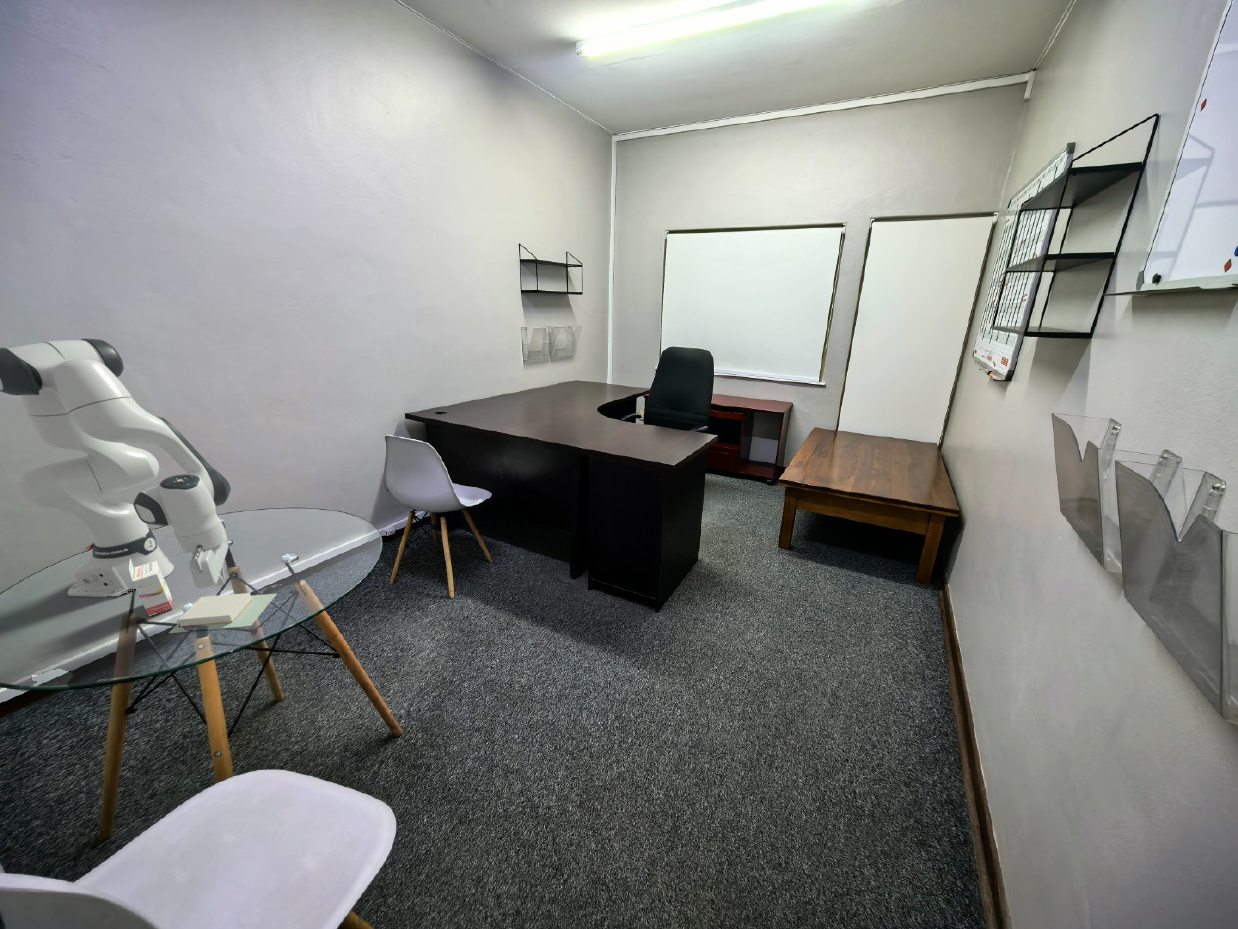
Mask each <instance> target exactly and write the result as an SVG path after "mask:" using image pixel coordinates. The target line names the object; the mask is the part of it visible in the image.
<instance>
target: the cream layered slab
mask: <svg viewBox="0 0 1238 929" xmlns="http://www.w3.org/2000/svg"><path fill="white" fill-rule="evenodd" d="M251 596H252V595H251V592H246V593H233V594H223V595H212V596H211V595H210V596H201V597H200V598H198V600H196V602H194V603H193V605H191V606H190V607H189V608H188V609H187V610H186V611H184V613H183V614H182V615H181V616H180V617H179V618H177V622H178V623H179V624H180V626H181V627H183V626H189V625H209V624H220V623H231V622H233V621H234V620H235V619H236V618H237V617H238V616H239V614H240V613H241V612H242V611H243V610H244V609H245V608H246V607H247V605H248V604H249V603H250V602H251V601H252V598H251Z"/></svg>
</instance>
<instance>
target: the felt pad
mask: <svg viewBox="0 0 1238 929" xmlns="http://www.w3.org/2000/svg"><path fill="white" fill-rule="evenodd" d="M277 594H278V593H266V594H255V595H254V594H253V595H251V598H252V601H251V602H250V603H249V604H248V605H247V607H246V608H245V609H244V610H243V611H242V612H241V613H240V614H239V616H238V617H237V618H236V619H235V620H234V621H233V622H231V623H220V624H209V625H204V626H209V627H208V628H209V629H208V628H207V629H208V630H207V631H210V630H219V629H220V630H221V629H231V628H232V629H233V628H241V627H242V628H243V627H251V626H252V625H253V624H254V623H255V621H257V619H258V618H259V616H260V615H261V614H262V613H263V612H264V610H265V609H267V607H268V606H269V604H270V603H271V602H272V601H273V600H274V598H275V597H276V596H277ZM178 626H179V622H178V623H177V624H176V625H175V626H174V627H173V628H172V629H171V630H170V631H169V632H168V634H175V633H187V632H188V631H186V630H184V628H182V627H178ZM202 626H203V625H202ZM188 633H189V632H188Z"/></svg>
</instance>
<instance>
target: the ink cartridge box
mask: <svg viewBox="0 0 1238 929" xmlns="http://www.w3.org/2000/svg"><path fill="white" fill-rule="evenodd" d="M129 574H130V577H131V580H132V583H133V585H134V587H135V589H136V590H135V591H136V593H137V595H138V597H139V599H140V601H141V603H142V606H143V607H144V609H145V611H146V613H147V615H148V616H149V615H152V614H154V613H160V612H163V613H165V611H166V612H168V611H167V610H169V611H171V610H170V609H172V610H173V598H172V597H171V595H172V594H171V592H170V588H169V586H168V584H167V582H166V580H165V578H164V577H163V575H162V573H161V570H160V568H159V566H158V563H157V561H155V562H151V563H148V564H144V565H141V566H138V567H134V568H133V564H132V561H131V559H130V561H129ZM160 614H161V613H160Z"/></svg>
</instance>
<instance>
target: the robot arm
mask: <svg viewBox="0 0 1238 929" xmlns="http://www.w3.org/2000/svg"><path fill="white" fill-rule="evenodd" d="M124 369H125V367H124V362H123V359H122V357H121V356H120V354H119V352H118V351H117V349H116V348H115V347H114V346H113V345H111V344H110V343H108V342H106V341H105V340H103V339H98V338H81V339H67V340H66V339H64V340H61V339H60V340H49V341H42V342H39V343H30V344H24V345H18V346H13V347H8V348H7V347H0V392H1V393H3V394H7V395H11V396H20V398H21V401H22V402H21V403H23V406H24V409H25V411H26V413H27V415H28V417H29V419H30V421H31V423H32V424H33V426H34V429H35V430H36V432H37V434H38V436H39V439H41V441H42V442H44V443H45V444H46V445H49V446H51V447H55V448H59V449H66V450H75V451H81V452H84V453H86V454H87V455H85V456H83V457H77V458H73V459H68V460H62V461H57V462H52V463H47V464H44V465H41V466H39V467H34V468H33V469H30V470H27V471H24V472H22V473H21V474H20V476H19V477H18V479H17V482H16V489H17V492H18V494H19V496H20V497H21V498H22V499H24V501H26V502H28V503H29V504H30V505H31V504H32V505H34V506H37V507H41V508H49V509H53V510H58V511H60V512H64V513H65V514H68V515H69V516H72V517H73V518H75V519H76V520H77V521H78V522H80V523H81V525H82V526H83V527H84V528H85V530H86V532H87V533H88V535H89V536H90V538H91V541H92V543H91V544H90V545H88V546H87V547H85V548H84V550H86V551H85V552H86V553H88V552H89V551H92V554H91V556H89V557H88V558H87V560H85V561H84V562H83V563H82V564H81V565H80V566H79V567H78V568H76V570H75V572H74V578H75V582H76V583H74V584H73V585H71V587H70V588H69V589H68V590H67V596H68V597H93V598H108V597H107V596H112V595H117V594H120V593H121V592H123V589H124V591H126V590H128V589H135V587H134V585H133V583H132V580H131V577H130V574H129V561H130V559H131V561H132V564H133V568H134V567H138V566H141V565H144V564H148V563H151V562H155V561H157V563H158V566H159V568H160V570H161V573H162V575H163V577H164V579H165V578H166V577H168V576H169V575H170V574H171V573H172V572H173V571H174V569H175V565H174V564H173V563H172V562H171V561H170V560H169V558H168V557H167V556H166V555H165V554H164V552H163V551H162V549H161V547H159V545H158V544H157V540H156V539H157V538H156V537H155V534H154V532H153V530H152V529H151V528H150V527H149V526H148V525H153V526H160V527H168V526H170V527H171V526H172V527H173V530H174V532H173V533H174V535H175V538H176V541H177V542H178V544H179V547H180V550H181V551H182V552H184V553H190V555H191V558H190V560H189V569H190V574H191V576H192V579H193V581H194V585H195V587H196V588H197V589H199V590H202V589H206V588H211V587H214V586H215V587H219V586H222V585H223V584H224V582H225V579H226V575H225V572H224V562H225V559H226V556H227V554H228V549H229V541H228V535H227V532H226V523H225V520H224V519H221V518H220V517H219V516H218V515H217V512H216V511H217V507H218V506H222V505H224V504H225V503H226V502H227V501H228V499H229V497H230V494H231V488H232V487H231V485H230V482H229V481H228V480H227V479H226V477H225V476H224V475H223V474H221V473H220V472H219V471H218V470H217V469H215V468H214V467H213V466H212V465H211V464H209V462H208V461H207V460H206V459H205V458H204V457H203V456H202V454H201V453H200V452H198V450H197V449H196V448H195V447H194V446H193V445H192V444H191V443H190V441H188V439H187V438H186V437H185V436H184V435H183V434H182V432H180V430H178V429H177V428H176V427H175V426H174V424H172V423H171V422H169V421H168V420H167V419H166V418H164V417H160V416H156V415H154V414H151V413H150V412H148V411H146V409H144V408H143V407H141V406H140V405H139V403H138V402H136V400H135V399H134V398H133V396H132V395H131V393H130V392H129V390H128V389H127V387H125V385H124V384H123V383H122V381H121V380H120V379H119V377H120V376H121V375H122V373H123V372H124ZM128 444H146V445H152V446H156V447H158V448H161V449H162V450H163V451H165V452H166V453H167V454H168V455H169V456H170V458H172V459H173V460H174V461H175V462H176V463H177V465H179V467H180V468H181V469H182V470H183V471H184V472H185V473H186V474H177V475H173V476H168V477H166V478H165V479H163V480H161V481H160V482H159V483H158V485H155V486H152V487H149V488H146V489H144V490H142V491H140V492H138V493H137V495H136V496H135V498H134V501H133V504H132V503H129V502H124V501H108V500H104V499H101V498H100V497H102V496H104V495H108V494H111V493H116V492H120V491H124V490H128V489H133V488H136V487H139V486H141V485H144V484H147V483H149V482H151V481H153V480H155V479H156V478H158V474H159V472H160V464H159V461H158V459H157V458H156V457H155V456H154V455H153V454H152V453H151V452H149V451H147V450H145V449H143V448H140V447H139V448H138V447H135V446H131V445H128ZM119 589H121V590H119ZM115 590H118V591H116V592H115ZM114 592H115V593H114Z"/></svg>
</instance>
